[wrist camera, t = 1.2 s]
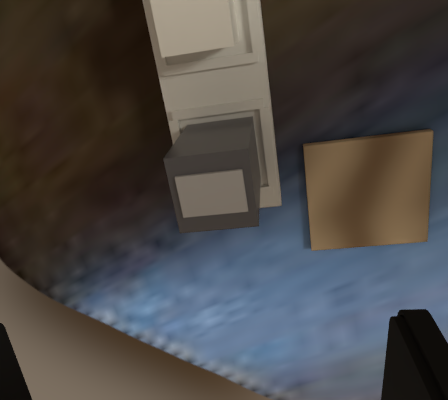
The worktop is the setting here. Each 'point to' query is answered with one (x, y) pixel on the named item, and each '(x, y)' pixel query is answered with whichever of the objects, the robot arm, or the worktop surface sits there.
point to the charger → (215, 176)
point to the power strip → (216, 71)
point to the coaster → (369, 190)
